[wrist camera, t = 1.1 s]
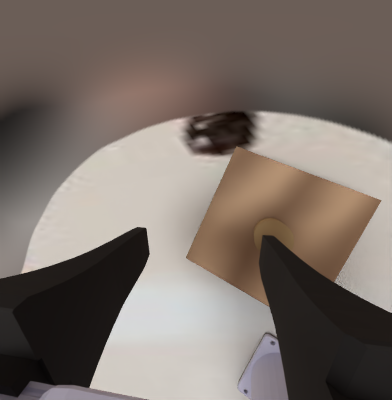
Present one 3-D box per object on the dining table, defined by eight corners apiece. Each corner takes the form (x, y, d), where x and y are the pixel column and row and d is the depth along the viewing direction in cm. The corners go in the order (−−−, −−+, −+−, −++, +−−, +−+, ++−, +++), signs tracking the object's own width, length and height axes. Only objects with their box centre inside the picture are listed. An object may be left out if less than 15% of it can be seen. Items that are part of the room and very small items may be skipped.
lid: (375, 200, 16) (411, 200, 12) (304, 323, 18) (318, 355, 14) (236, 148, 19) (233, 136, 16) (188, 255, 21) (175, 267, 17)
